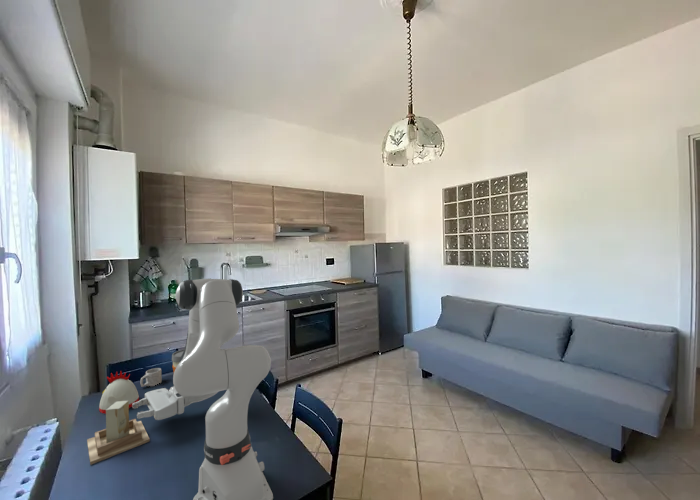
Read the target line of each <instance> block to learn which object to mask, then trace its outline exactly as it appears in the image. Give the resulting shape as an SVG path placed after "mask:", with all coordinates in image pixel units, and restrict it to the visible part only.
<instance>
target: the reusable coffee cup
mask: <svg viewBox="0 0 700 500" xmlns="http://www.w3.org/2000/svg"><path fill="white" fill-rule="evenodd" d="M184 350H185V348H184V349H180V350H177V351H175V352H173V353H172V355H171V361H172V370H173V371H172V372H173V373H174V371H175V369H176V367H177V365H178V364H179V361H180V358H181V356H182V354H183V352H184Z"/></svg>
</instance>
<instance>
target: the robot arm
mask: <svg viewBox="0 0 700 500" xmlns="http://www.w3.org/2000/svg"><path fill="white" fill-rule="evenodd" d="M243 293H244V291H243V286H242V283H241V282H240V281H239V280H237V279H233V278H229V279H223V278H200V279H186V280H183V281H181V282H180V283H179V284H178V287H177V288H176V290H175V300H176V303H177V305H178V307H179V308H180V309H181V310H185V311H188V312H189V313H188V328H187V329H188V330H187V335H186V341H185V347H184V349H185V350H184V349H183V350H184V352H183V354H182V356H181V358H180V361H179V364H178V365H177V367H176V369H175V371H174V372H173V376H172V384H173V386H171V387H170V388H169V389H168V388H166V387H164V388H163V387H161V388H157V389H153V390H150V391H147V392H146V393H144V398H142V399H139V401H138V402H135V403H133V404H132V407H131V408H132V410H135V409H139V407H141V406H147V407H148V410H145V411H144V410H141V411H138V412H137V413H136V419H138V420H140V419H143V418H151V417H153V418H154V420H155V421H162V420H165V419H169V418H171V417H173V416H176V415H182V414H183V413H184V412H185V408H186V407H188V406H189V405H191V404H194V403H198V402H202V401H206V400H207V399H209V398H212V397H214V396H215V395H216V394H218V393H219V392H222V391H223V392H224V391H225V392H224V394H223V395H222V396H221V397H220V398H218V399H217V400H216V401H214V402H213V403H212V404H211V405H210V407H209V409H208V410H207V411H206V414H205V417H204V419H205V420H204V421H205V439H204V443H203V451H204V452H203V453H204V459H203V461H202V463H201V465H200V467H199V470H198V490H197V491H198V492H197V493H196V494H195V495H194V497H193V499H192V500H273V499H274V494H273V492H272V490H271V487H270V485H269V483H268V482H267V479H266V476H265V475H264V472H263V471H265V462H264V461H259V462H258V460H257V457H258V452H257V451H254V449H253V446H252V441H251V435H250V432H249V429H248V412H249V404H250V401H251V398H252V396H253V394H254V391H256V388H257V387H258V386H259V384H260V383H261V382H262V381H263V380H264V379H265V378H266V377H267V376H268V374H269V373H270V370H271V368H272V367H271V366H272V359H271V355H270V352H269V351H268V349H267V347H265V346H263V345H258V344H257V345H256V344H255V345H253V344H252V345H251V344H250V345H249V344H248V345H243V346H242V345H241V346H236V347H231V348H226V349H225V348H224V349H223V348H221V347H222V346H223V345H225V344H226V343H228V342H229V341H230V340H232V339H233V338H234V337H235V336H236V335H237V334H238V332H239V328H240V322H239V317H238V309H237V306H239V304H241V302H242V299H243V295H244V294H243Z"/></svg>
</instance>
